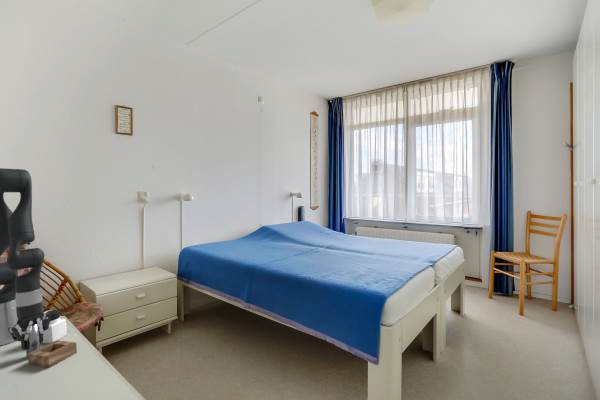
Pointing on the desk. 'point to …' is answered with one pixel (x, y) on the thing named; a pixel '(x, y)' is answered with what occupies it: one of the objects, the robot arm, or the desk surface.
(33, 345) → the peg
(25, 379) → the desk surface
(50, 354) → the bore block
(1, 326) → the robot arm
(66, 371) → the desk surface
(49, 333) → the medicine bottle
